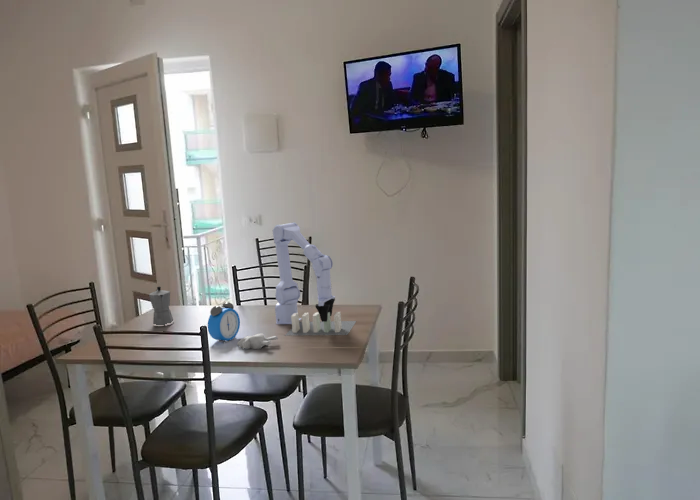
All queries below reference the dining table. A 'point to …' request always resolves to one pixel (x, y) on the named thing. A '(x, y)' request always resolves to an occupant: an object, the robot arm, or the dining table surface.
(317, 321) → the domino
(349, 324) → the mat
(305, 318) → the domino
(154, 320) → the coffeepot
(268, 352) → the dining table surface
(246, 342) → the bunny figurine
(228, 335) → the alarm clock
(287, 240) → the robot arm
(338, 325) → the white flat block
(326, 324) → the domino
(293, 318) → the domino
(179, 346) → the dining table surface
